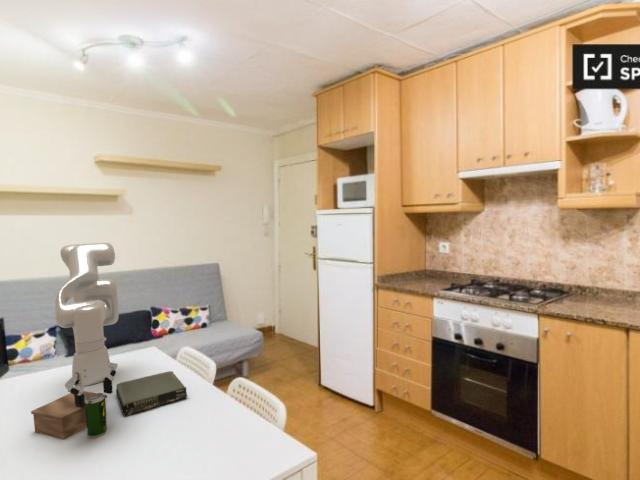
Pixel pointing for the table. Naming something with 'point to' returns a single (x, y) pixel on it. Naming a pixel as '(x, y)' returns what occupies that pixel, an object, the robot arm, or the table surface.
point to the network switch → (149, 392)
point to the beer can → (95, 415)
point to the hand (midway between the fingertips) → (94, 399)
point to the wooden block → (61, 417)
